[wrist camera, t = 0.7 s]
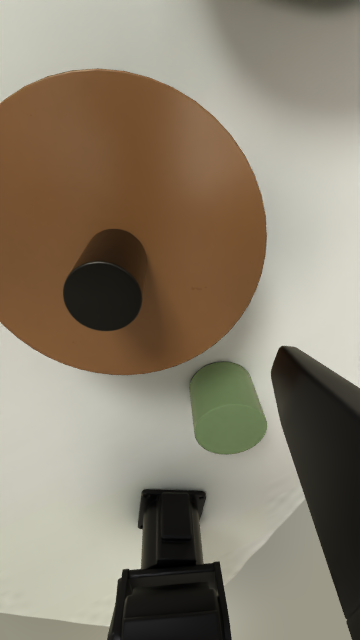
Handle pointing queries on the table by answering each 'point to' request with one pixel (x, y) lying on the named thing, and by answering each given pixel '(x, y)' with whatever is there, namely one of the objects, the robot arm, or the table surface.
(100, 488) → the table surface
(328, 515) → the robot arm
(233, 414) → the candle
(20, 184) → the wooden lid
